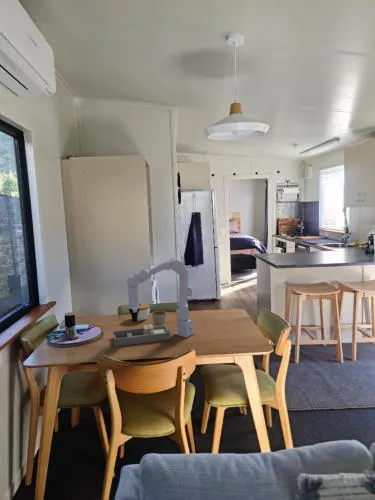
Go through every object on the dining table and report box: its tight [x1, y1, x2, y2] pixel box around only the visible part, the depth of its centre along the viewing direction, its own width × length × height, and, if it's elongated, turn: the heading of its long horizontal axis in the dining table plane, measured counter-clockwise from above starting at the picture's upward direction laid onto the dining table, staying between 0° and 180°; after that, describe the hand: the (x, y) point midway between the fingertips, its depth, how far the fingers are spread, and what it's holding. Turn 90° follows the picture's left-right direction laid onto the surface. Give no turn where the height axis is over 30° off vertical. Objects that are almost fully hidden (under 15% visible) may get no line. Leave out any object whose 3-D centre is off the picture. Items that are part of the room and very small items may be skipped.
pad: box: [154, 328, 166, 334], centre depth 201 cm, size 7×11×2 cm, turn 13°
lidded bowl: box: [137, 302, 151, 322], centre depth 232 cm, size 13×13×11 cm
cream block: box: [143, 324, 154, 335], centre depth 199 cm, size 4×8×4 cm, turn 13°
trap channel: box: [112, 324, 171, 347], centre depth 198 cm, size 30×13×4 cm, turn 103°
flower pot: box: [150, 310, 167, 326], centre depth 216 cm, size 9×9×9 cm
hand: (134, 321), depth 196 cm, fingers closed
